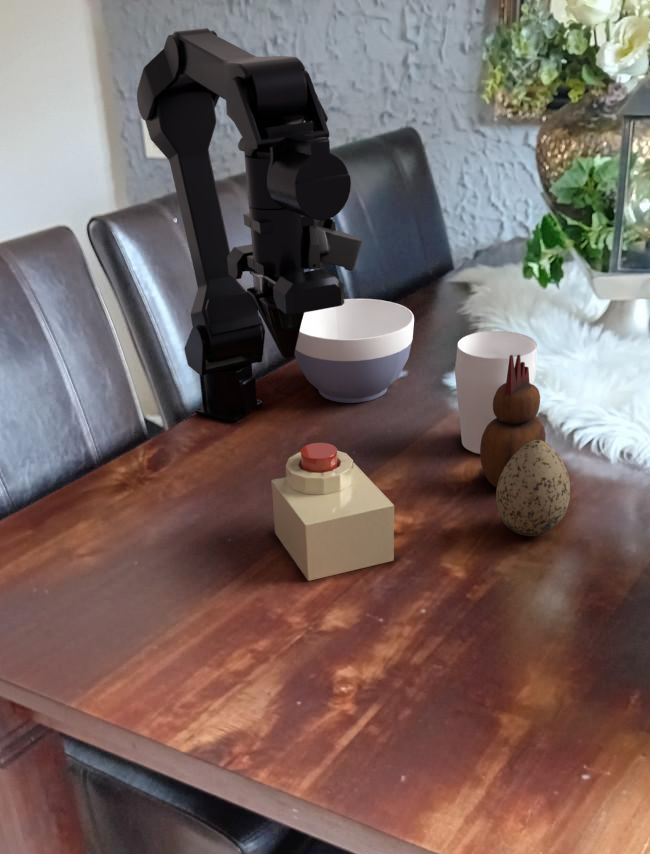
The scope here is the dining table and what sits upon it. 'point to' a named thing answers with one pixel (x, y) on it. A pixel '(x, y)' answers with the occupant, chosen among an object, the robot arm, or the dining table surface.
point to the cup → (486, 377)
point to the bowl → (355, 348)
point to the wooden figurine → (511, 421)
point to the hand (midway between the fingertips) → (288, 356)
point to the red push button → (319, 458)
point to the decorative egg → (533, 490)
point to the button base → (332, 519)
